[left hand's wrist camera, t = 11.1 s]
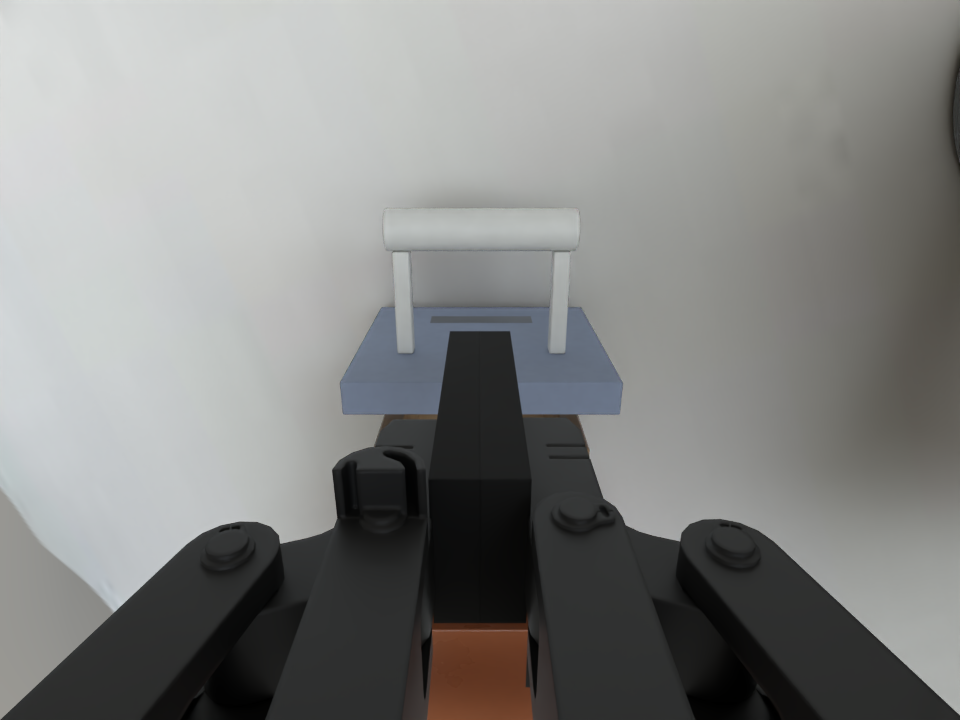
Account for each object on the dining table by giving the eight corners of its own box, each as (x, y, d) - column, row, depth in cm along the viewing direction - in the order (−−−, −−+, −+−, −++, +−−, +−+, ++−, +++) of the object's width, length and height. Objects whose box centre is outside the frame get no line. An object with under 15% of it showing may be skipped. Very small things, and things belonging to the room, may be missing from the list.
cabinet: (384, 473, 32) (340, 630, 22) (578, 473, 32) (621, 630, 22) (403, 737, 39) (377, 941, 30) (559, 737, 39) (585, 941, 30)
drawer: (373, 191, 25) (323, 220, 17) (588, 190, 25) (639, 220, 17) (402, 625, 34) (377, 776, 26) (560, 625, 34) (584, 777, 26)
